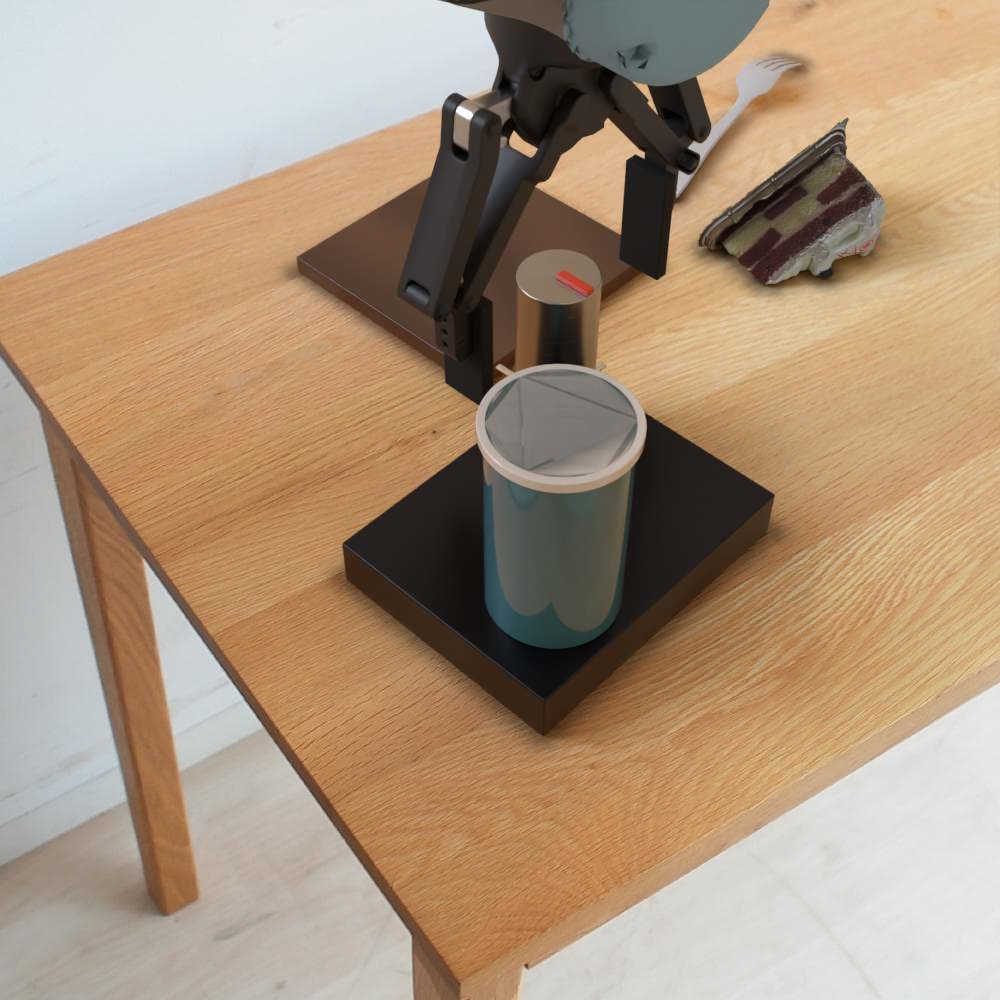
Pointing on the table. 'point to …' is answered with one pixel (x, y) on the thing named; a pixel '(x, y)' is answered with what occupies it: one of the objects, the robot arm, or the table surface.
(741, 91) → the fork
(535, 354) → the knob
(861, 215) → the chocolate cake
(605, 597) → the pot
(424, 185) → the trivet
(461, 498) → the hob
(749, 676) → the table surface
